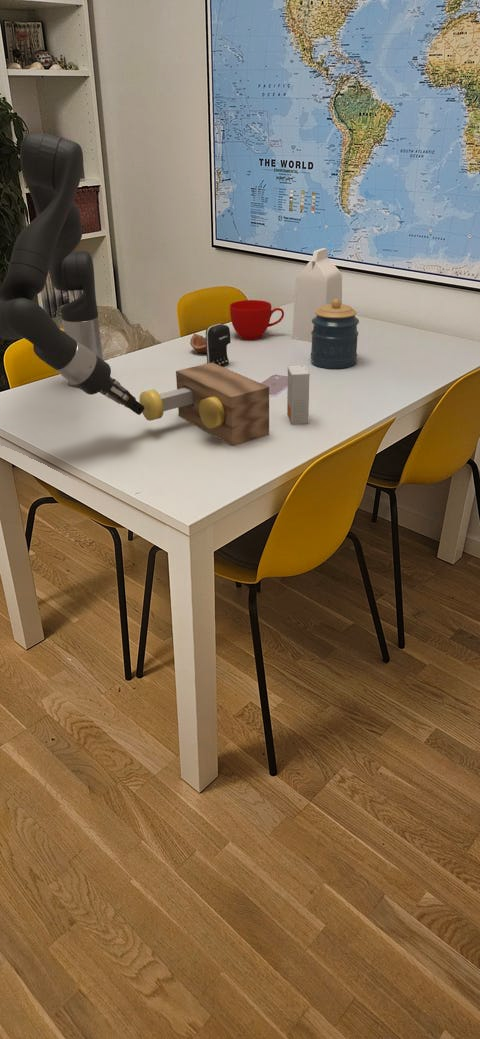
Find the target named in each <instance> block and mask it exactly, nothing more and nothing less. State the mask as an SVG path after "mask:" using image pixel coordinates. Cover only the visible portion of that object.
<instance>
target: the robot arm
mask: <svg viewBox="0 0 480 1039" xmlns="http://www.w3.org/2000/svg"><path fill="white" fill-rule="evenodd" d="M19 152H20V154H19V156H20V157H19V158H20V159H19V160H20V162H19V163H20V169H21V173H22V176H23V179H24V182H25V185H26V187H27V190H28V192H29V195H30V196H31V199H32V202H33V205H34V209H35V210H34V211H35V213H36V214H35V215H36V217H35V218H34V219H33V220H32V221H31V222H29V224H27V225H26V227H24V228H23V229H22V230H21V232H20V233H19V234H18V236H17V238H16V240H15V242H14V245H13V248H12V253H11V257H10V259H9V264H8V267H7V268H8V269H7V274H6V275H5V278H4V280H3V281H2V283H1V285H0V338H1V339H2V340H3V339H4V340H8V341H12V340H13V341H14V340H19V339H25V340H27V341H28V342H30V343H31V344H32V345H33V347H32V348H33V349H32V350H33V352H34V354H35V355H36V356H37V357H38V358H39V359H40V360H41V361H43V362H44V363H45V364H47V365H48V366H50V367H51V368H53V370H55V371H56V372H57V373H59V375H61V377H62V378H64V379H65V380H67V381H68V382H67V383H68V386H74V387H77V388H78V389H80V390H82V391H83V392H84V393H85V394H87V395H92V396H93V395H96V394H98V393H100V394H101V395H103V396H105V397H106V398H108V399H110V400H111V401H113V402H115V403H117V404H119V405H121V406H124V407H125V408H126V409H129V410H130V411H132V412H133V413H135V414H136V415H138V416H140V415H141V414H143V413H142V412H143V410H144V408H145V407H144V406H143V405H141V404H140V401H137V399H136V397H135V396H134V395H132V394H131V393H130V391H129V390H128V389H126V387H124V386H123V385H122V384H121V383H120V382H119V381H118V380H116V379H115V378H112V377H111V373H112V369H111V366H110V364H109V363H108V362H106V361H105V360H104V353H103V346H102V345H103V343H102V336H101V329H100V327H101V326H100V317H99V311H98V304H97V297H96V285H95V284H96V283H95V281H96V280H95V279H96V278H95V269H94V260H93V258H92V255H91V253H90V252H89V251H88V250H75V249H76V248H77V247H78V245H80V242H81V240H82V238H83V224H82V217H81V213H80V210H79V208H78V205H77V204H76V202H74V199H75V197H76V193H77V192H78V189H79V186H80V182H81V179H82V174H83V169H84V168H83V167H84V152H83V149H82V147H81V145H80V143H78V142H75V141H74V140H71V139H68V138H64V137H60V136H55V135H54V134H53V135H52V134H48V133H45V132H40V131H31V132H28V133H27V134H26V135H25V136H24V137H23V139H22V141H21V145H20V150H19ZM48 276H49V279H50V282H51V284H52V286H53V287H54V288H55V290H57V291H59V292H60V291H61V292H73V291H74V292H75V291H82V294H80V295H79V296H78V298H76V299H74V300H72V301H70V302H67V303H66V304H63V306H62V307H61V308H60V317H61V322H62V329H63V330H62V329H60V327H59V326H58V325H57V323H56V321H54V320H53V318H52V317H51V316H50V315H49V313H47V311H46V310H45V309H44V308H43V307H42V306H41V305H40V304H38V303H36V302H35V301H33V299H34V298H35V297H36V296H37V295H39V294H40V293H41V292H43V290H44V289H45V286H46V283H47V279H48Z"/></svg>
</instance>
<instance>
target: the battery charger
mask: <svg viewBox="0 0 480 1039" xmlns="http://www.w3.org/2000/svg"><path fill="white" fill-rule="evenodd" d="M205 338H206V352H207V353H206V364H207V363H215V364H217V365H219V366H222V367H226V366H228V365H229V363H230V361H229V357H228V345H229V344H231V330H230V327H229V326H228V325H226V324H223V323H216V324H213V325H211V326H208V327H207V328H206V330H205Z"/></svg>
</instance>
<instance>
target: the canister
mask: <svg viewBox="0 0 480 1039" xmlns="http://www.w3.org/2000/svg"><path fill="white" fill-rule="evenodd" d="M357 313H358V312H357V310H355V309H354V308H353V307H352V306H350V305H347V304H343V303H342V304H341V301H340V300H339V299H334V300H332V303H331V304H328V305H323V306H321V307H320V308H319V309H317V310H316V311H315V314H316V317H314V318H313V319H312V323H313V324H314V326H313V330H312V332H311V334H312V342H311V352H310V360H311V364H312V365H314V366H316V367H319V368H324V369H330V370H331V369H333V370H334V369H336V370H337V369H346V368H349V367H353V366H354V365H355V364H356V361H357V359H358V353H357V350H358V336H359V331H358V329H357V328H358V325H359V324H360V320H359V318H358V317H356V315H357Z"/></svg>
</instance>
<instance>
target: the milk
mask: <svg viewBox="0 0 480 1039" xmlns="http://www.w3.org/2000/svg"><path fill="white" fill-rule="evenodd" d="M327 250H328V249H327V247H324V248H323V247H322V248H319V249H316V250H313V254H312V258H311V260H310V261H308V262H307V264H306V265H305V267H304V268H303V269H302V270H301V271H300V272H299V273H298V275H297V276H296V278H295V283H294V284H295V287H294V304H293V315H292V316H293V318H292V332H291V333H292V336H291V339H292V340H297V341H303V342H308V343H312V334H311V332H312V330H313V326H314V324H313V323H312V319H313V318H314V317H316V314H315V311H316V310H317V309H319V308H320V307H321V306H323V305H328V304H331V303H332V300H334V299H339V300H340V301H341V304H343V276H342V273H341V271H340V270H339V269H338V267H337V266H336V265H335V264H334V262H332V260H330V258H329V256H328V255H329V254H328V251H327Z"/></svg>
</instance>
